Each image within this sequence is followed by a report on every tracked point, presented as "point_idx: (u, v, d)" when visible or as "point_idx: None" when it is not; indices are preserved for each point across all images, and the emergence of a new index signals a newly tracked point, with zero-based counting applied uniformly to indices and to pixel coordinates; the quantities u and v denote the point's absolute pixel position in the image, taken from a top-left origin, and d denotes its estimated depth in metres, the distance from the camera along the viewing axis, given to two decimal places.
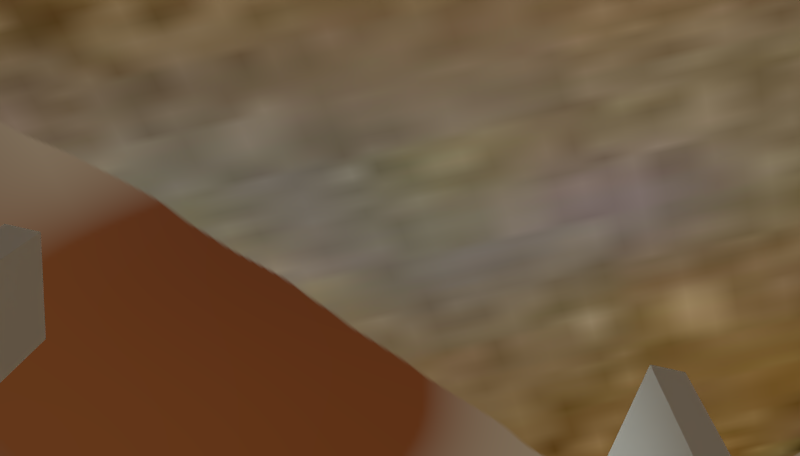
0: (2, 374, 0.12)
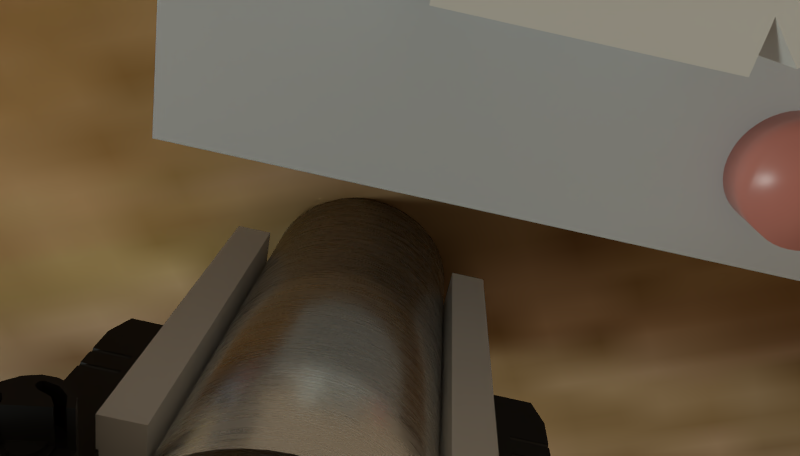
0: None
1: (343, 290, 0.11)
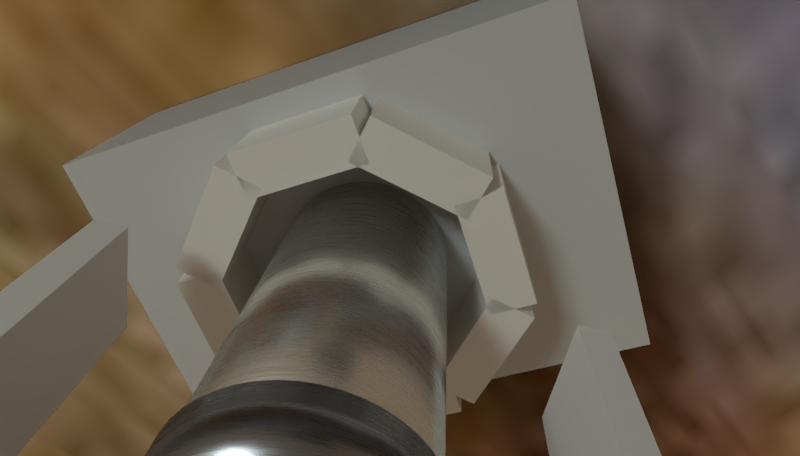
0: (94, 359, 0.13)
1: (358, 258, 0.12)
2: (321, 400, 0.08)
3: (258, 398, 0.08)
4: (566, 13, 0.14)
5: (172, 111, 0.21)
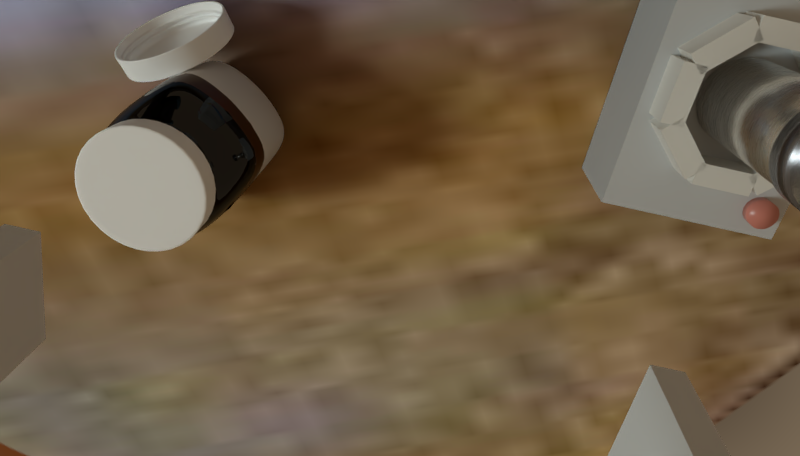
0: (2, 374, 0.12)
1: (750, 93, 0.28)
2: None
3: (785, 133, 0.24)
4: None
5: (593, 155, 0.39)
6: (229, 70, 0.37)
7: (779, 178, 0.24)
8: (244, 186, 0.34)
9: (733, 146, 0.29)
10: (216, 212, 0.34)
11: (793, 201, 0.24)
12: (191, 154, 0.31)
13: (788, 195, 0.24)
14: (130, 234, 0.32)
